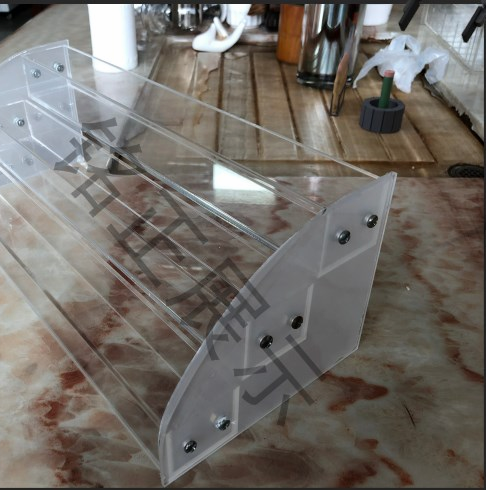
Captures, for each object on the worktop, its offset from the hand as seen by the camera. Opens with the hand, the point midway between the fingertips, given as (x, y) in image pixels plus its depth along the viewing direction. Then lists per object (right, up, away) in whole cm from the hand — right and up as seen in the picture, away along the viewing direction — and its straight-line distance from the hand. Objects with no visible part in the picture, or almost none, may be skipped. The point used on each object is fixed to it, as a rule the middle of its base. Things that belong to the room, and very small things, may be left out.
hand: (431, 33), depth 121 cm
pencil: (-7, -17, +9) cm, 21 cm away
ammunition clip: (-14, -11, +18) cm, 26 cm away
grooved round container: (-7, -17, +9) cm, 21 cm away
